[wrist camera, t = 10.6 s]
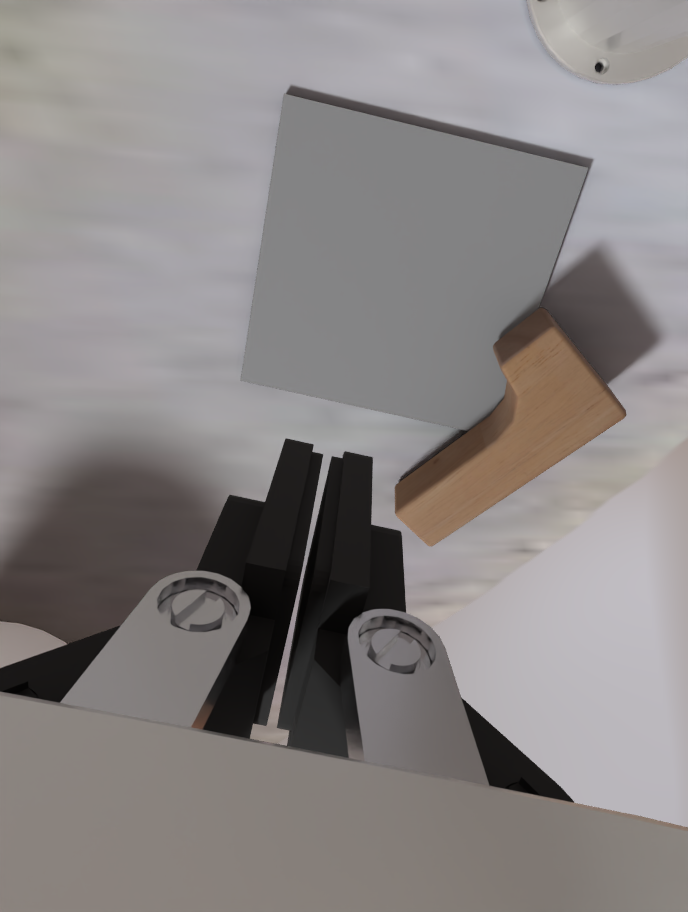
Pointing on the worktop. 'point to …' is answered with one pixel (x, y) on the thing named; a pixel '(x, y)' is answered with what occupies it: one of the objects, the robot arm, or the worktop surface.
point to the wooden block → (512, 431)
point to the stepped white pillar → (24, 642)
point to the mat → (399, 262)
